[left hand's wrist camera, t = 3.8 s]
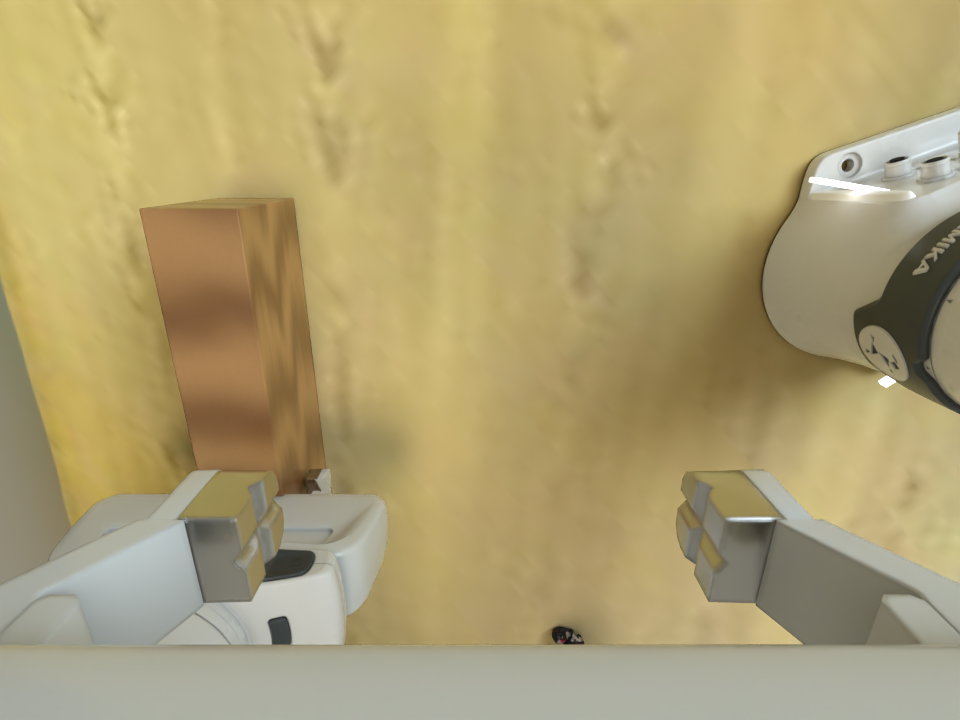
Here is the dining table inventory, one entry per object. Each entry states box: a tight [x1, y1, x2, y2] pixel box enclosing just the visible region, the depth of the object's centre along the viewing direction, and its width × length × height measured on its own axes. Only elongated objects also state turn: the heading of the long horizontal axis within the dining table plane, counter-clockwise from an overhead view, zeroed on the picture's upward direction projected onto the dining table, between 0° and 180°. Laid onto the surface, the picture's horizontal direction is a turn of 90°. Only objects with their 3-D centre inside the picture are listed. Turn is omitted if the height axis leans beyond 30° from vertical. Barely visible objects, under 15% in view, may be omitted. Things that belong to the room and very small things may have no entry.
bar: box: [140, 198, 326, 497], centre depth 38 cm, size 24×6×10 cm, turn 0°
